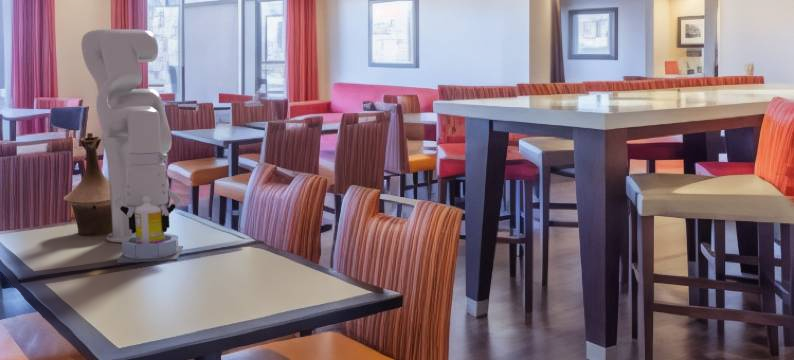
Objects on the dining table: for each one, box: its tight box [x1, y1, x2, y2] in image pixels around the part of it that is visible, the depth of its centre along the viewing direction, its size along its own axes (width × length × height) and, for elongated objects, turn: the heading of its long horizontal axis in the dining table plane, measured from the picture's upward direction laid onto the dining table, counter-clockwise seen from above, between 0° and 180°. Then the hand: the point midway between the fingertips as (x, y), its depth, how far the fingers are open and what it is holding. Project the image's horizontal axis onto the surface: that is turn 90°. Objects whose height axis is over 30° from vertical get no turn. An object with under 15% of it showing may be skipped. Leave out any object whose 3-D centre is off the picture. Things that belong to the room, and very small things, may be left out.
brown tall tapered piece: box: [63, 132, 112, 237], centre depth 230 cm, size 18×17×28 cm
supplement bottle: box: [134, 196, 165, 244], centre depth 202 cm, size 7×7×13 cm
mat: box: [116, 245, 184, 264], centre depth 204 cm, size 14×14×1 cm
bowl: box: [121, 232, 180, 260], centre depth 203 cm, size 13×13×4 cm
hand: (149, 230), depth 203 cm, fingers closed on supplement bottle, 6 cm apart
